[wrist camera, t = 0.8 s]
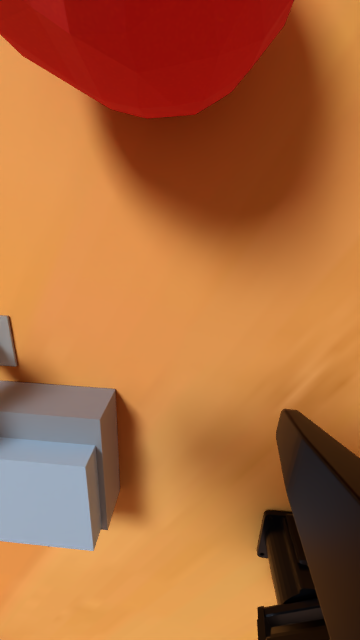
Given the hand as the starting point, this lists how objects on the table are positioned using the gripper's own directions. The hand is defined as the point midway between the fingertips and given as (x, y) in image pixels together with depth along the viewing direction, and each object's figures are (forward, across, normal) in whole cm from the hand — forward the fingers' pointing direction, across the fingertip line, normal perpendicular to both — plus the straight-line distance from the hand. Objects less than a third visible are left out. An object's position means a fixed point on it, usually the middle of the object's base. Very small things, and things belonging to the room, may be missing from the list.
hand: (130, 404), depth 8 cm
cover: (+10, +9, +16) cm, 21 cm away
